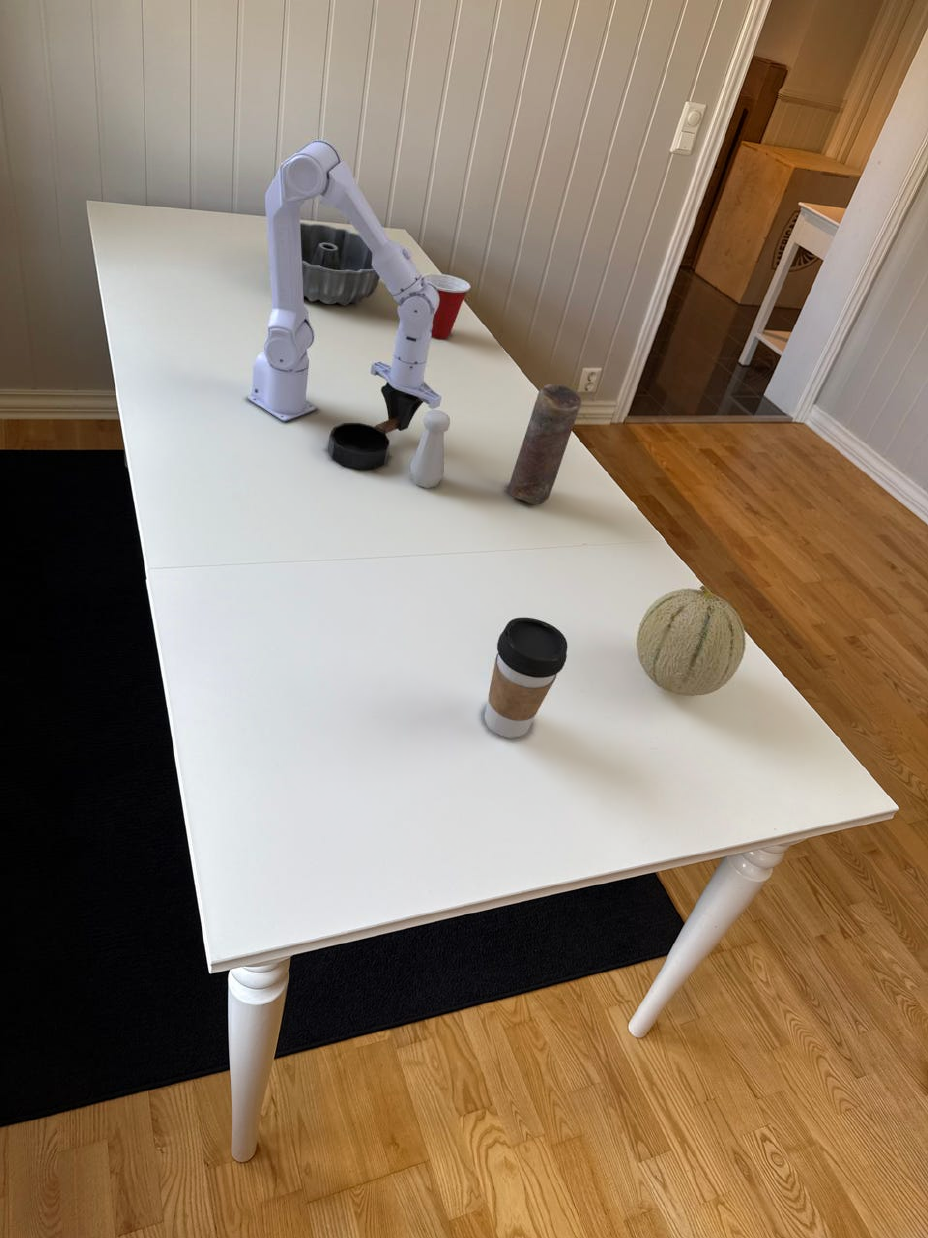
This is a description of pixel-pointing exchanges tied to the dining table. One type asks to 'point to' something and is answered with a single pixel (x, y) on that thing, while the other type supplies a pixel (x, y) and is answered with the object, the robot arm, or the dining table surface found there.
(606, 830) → the dining table surface
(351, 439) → the pan
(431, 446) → the salt shaker
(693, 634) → the cantaloupe
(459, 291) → the plastic cup
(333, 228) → the bundt pan
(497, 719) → the coffee cup
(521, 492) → the candle
